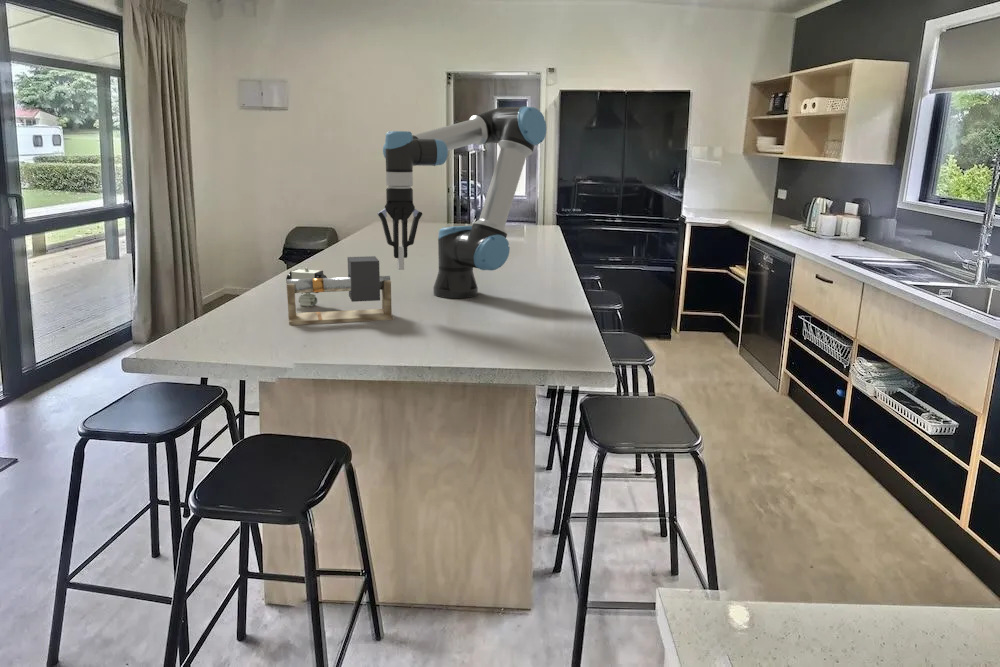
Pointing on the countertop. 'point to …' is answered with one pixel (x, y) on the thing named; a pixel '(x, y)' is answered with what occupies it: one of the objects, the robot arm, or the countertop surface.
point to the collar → (364, 278)
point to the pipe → (326, 284)
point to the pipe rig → (340, 315)
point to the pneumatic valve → (307, 298)
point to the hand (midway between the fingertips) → (400, 268)
